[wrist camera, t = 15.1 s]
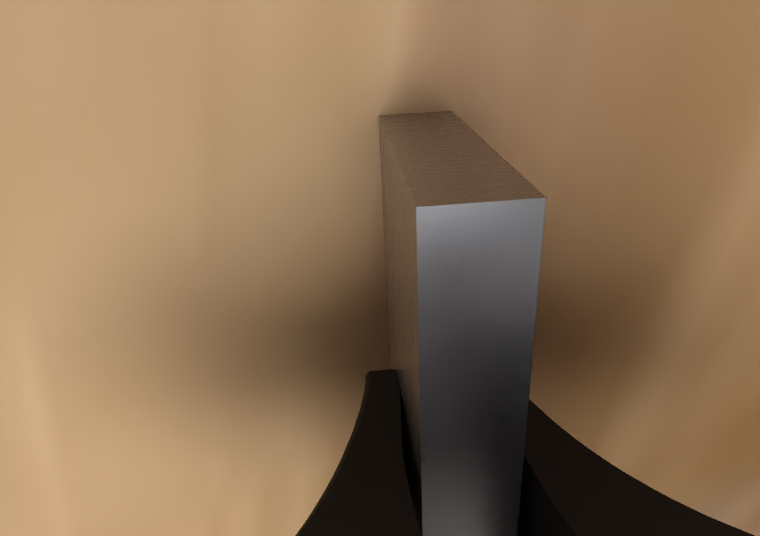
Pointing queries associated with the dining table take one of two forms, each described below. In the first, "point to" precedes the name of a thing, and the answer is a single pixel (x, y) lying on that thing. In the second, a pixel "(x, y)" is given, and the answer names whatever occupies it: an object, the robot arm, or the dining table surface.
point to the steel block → (459, 318)
